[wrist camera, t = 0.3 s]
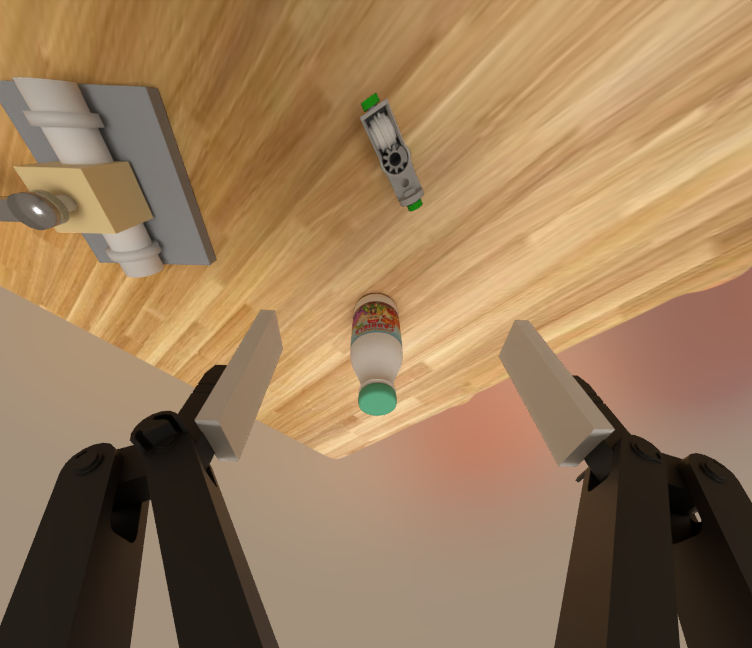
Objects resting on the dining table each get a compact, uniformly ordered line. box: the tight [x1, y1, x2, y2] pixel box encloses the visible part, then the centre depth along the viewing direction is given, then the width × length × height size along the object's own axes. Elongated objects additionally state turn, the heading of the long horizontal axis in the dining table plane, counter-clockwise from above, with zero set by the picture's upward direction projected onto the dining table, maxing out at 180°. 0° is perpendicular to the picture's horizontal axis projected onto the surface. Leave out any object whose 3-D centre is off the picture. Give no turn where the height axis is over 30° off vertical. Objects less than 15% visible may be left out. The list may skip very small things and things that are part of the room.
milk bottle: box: [350, 294, 403, 416], centre depth 40 cm, size 8×8×20 cm
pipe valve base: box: [0, 77, 216, 277], centre depth 31 cm, size 20×16×11 cm
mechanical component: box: [360, 93, 424, 211], centre depth 29 cm, size 3×10×10 cm, turn 29°
